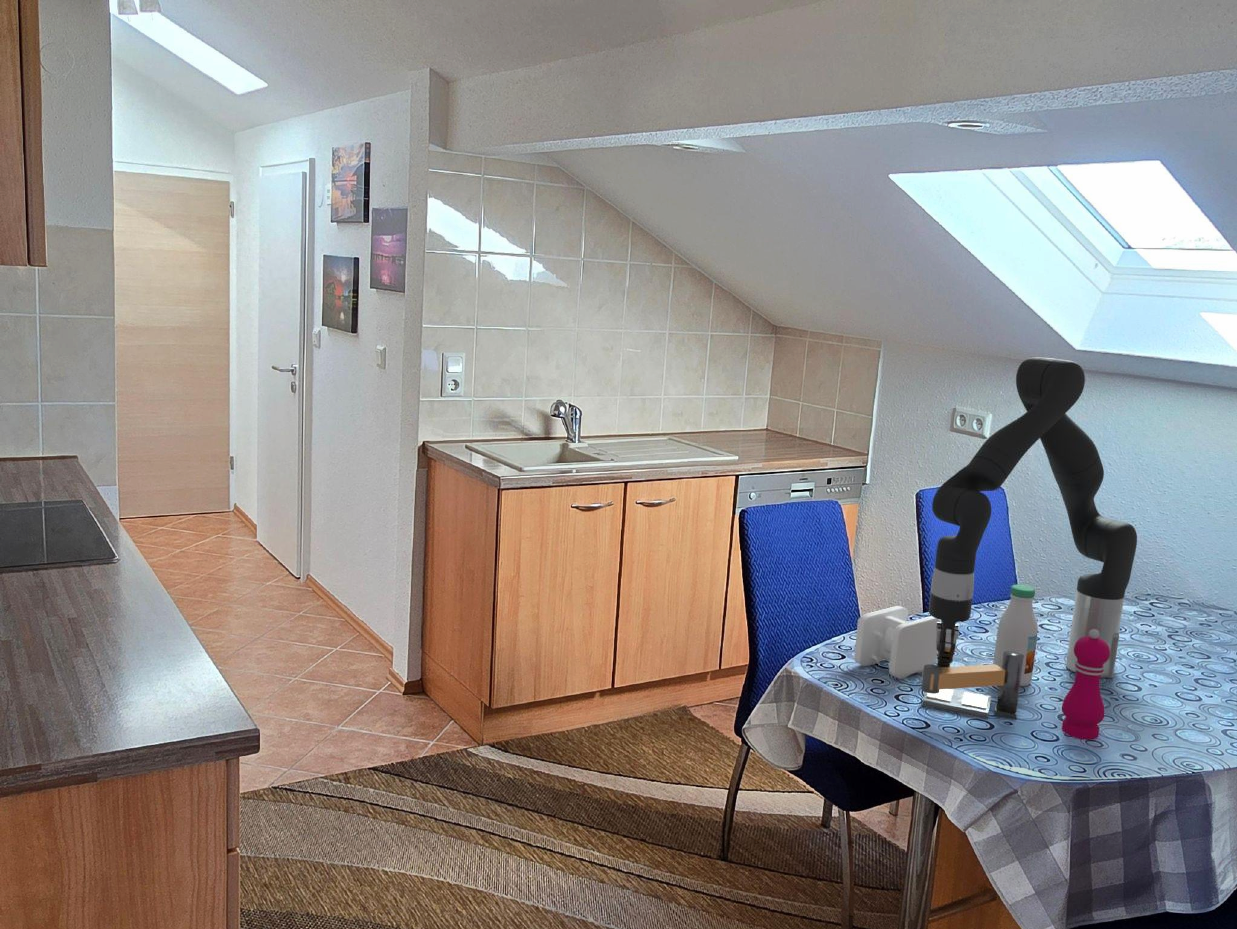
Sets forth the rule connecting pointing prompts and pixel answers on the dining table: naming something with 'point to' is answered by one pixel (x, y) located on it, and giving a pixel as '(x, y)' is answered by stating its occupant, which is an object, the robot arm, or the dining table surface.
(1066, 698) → the pepper mill
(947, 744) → the dining table surface
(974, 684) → the swing bar
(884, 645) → the cable organizer
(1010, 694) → the post
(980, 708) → the label plate
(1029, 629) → the milk bottle
